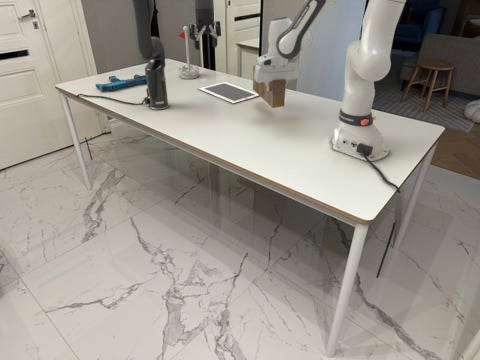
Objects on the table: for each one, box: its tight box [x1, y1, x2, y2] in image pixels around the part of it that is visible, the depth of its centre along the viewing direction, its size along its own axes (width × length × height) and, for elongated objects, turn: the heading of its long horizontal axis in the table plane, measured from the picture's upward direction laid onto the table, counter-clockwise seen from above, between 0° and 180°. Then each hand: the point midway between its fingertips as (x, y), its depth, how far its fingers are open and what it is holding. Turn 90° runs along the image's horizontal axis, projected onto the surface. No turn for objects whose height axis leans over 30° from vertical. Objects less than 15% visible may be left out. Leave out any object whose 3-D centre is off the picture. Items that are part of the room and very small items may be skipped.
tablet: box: [197, 81, 260, 105], centre depth 193 cm, size 32×20×1 cm, turn 41°
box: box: [252, 65, 287, 109], centre depth 161 cm, size 27×6×12 cm, turn 17°
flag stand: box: [177, 25, 200, 80], centre depth 211 cm, size 13×13×30 cm
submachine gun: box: [94, 74, 147, 92], centre depth 207 cm, size 34×4×25 cm
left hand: (206, 48), depth 147 cm, fingers open, 8 cm apart
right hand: (276, 90), depth 153 cm, fingers closed on box, 6 cm apart
